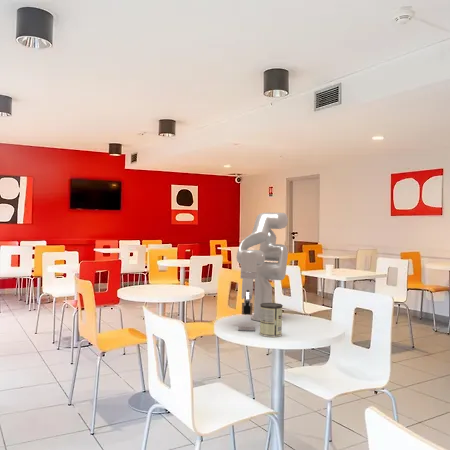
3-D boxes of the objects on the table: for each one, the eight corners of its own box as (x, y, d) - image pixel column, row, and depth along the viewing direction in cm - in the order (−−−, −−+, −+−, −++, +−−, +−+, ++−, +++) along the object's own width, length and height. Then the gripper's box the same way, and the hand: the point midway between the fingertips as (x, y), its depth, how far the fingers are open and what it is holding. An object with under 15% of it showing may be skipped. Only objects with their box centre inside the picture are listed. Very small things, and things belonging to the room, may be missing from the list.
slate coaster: (238, 327, 222) (238, 326, 222) (254, 328, 222) (254, 326, 222) (238, 330, 214) (238, 329, 214) (255, 331, 214) (255, 330, 214)
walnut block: (241, 312, 220) (242, 302, 220) (251, 313, 220) (252, 303, 220) (241, 314, 215) (242, 303, 215) (252, 314, 215) (252, 304, 215)
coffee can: (261, 331, 214) (262, 302, 214) (282, 333, 212) (283, 303, 212) (257, 336, 204) (258, 305, 204) (280, 338, 202) (281, 306, 202)
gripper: (240, 274, 227) (239, 310, 226) (240, 276, 210) (238, 315, 209) (255, 274, 227) (254, 311, 226) (256, 277, 210) (254, 316, 209)
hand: (246, 312), depth 217 cm, fingers closed on walnut block, 5 cm apart
